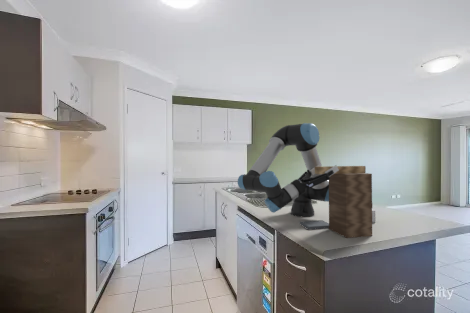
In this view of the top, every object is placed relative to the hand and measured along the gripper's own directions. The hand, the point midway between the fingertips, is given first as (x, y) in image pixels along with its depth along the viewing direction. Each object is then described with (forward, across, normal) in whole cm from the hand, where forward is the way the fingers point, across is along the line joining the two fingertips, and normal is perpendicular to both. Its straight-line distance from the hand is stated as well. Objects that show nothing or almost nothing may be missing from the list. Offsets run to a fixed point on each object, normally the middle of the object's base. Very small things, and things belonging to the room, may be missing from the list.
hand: (328, 167), depth 116 cm
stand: (-7, 0, -34) cm, 35 cm away
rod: (+4, 0, -6) cm, 7 cm away
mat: (-16, -13, -29) cm, 36 cm away
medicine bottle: (+13, -16, -46) cm, 51 cm away
